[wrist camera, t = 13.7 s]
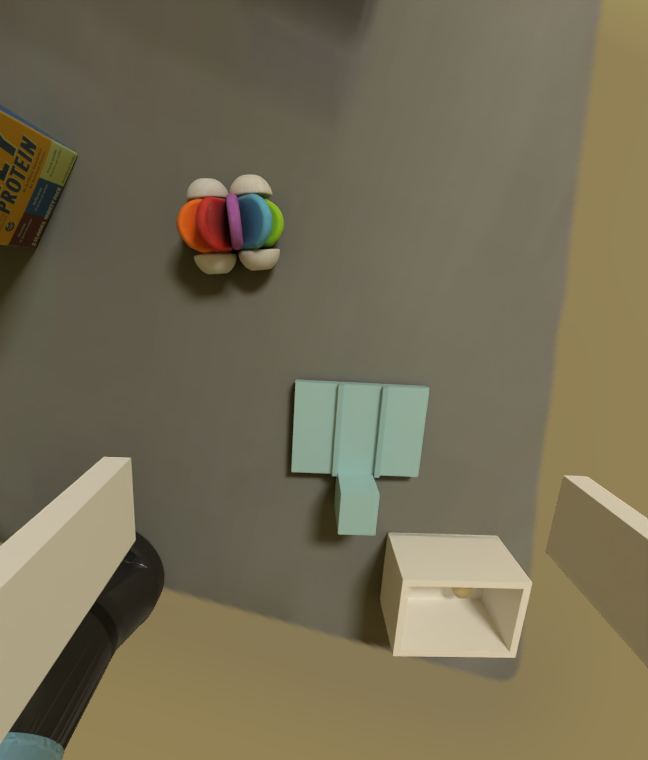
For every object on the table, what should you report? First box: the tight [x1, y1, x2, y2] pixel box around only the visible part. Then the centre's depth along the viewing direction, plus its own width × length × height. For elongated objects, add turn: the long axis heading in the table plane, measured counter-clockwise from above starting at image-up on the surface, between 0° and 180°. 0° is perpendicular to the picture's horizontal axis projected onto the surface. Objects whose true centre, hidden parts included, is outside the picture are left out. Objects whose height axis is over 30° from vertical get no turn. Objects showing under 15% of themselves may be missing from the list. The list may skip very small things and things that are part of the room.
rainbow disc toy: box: [177, 175, 284, 274], centre depth 36 cm, size 8×10×7 cm
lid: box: [291, 380, 430, 535], centre depth 43 cm, size 15×15×6 cm
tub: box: [380, 532, 532, 658], centre depth 46 cm, size 14×10×8 cm
